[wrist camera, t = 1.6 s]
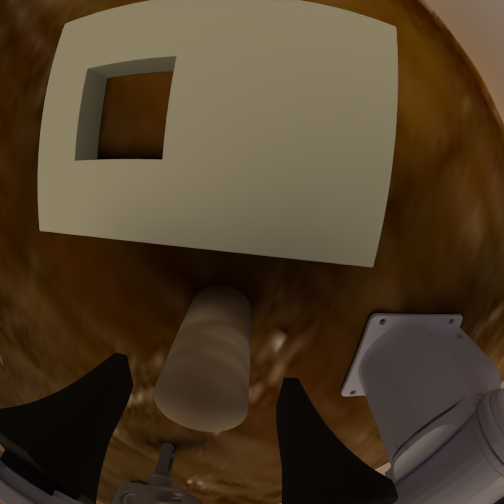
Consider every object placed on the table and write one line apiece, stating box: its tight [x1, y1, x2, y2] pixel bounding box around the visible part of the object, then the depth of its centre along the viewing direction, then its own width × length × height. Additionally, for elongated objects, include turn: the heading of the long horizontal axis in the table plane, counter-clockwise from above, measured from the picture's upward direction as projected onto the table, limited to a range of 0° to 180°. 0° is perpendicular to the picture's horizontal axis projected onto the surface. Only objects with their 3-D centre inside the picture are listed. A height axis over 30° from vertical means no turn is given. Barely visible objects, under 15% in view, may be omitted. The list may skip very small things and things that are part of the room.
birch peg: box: [153, 284, 252, 432], centre depth 14 cm, size 4×4×8 cm
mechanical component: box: [111, 443, 201, 504], centre depth 18 cm, size 3×10×10 cm, turn 112°
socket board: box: [38, 0, 398, 267], centre depth 13 cm, size 20×14×2 cm
